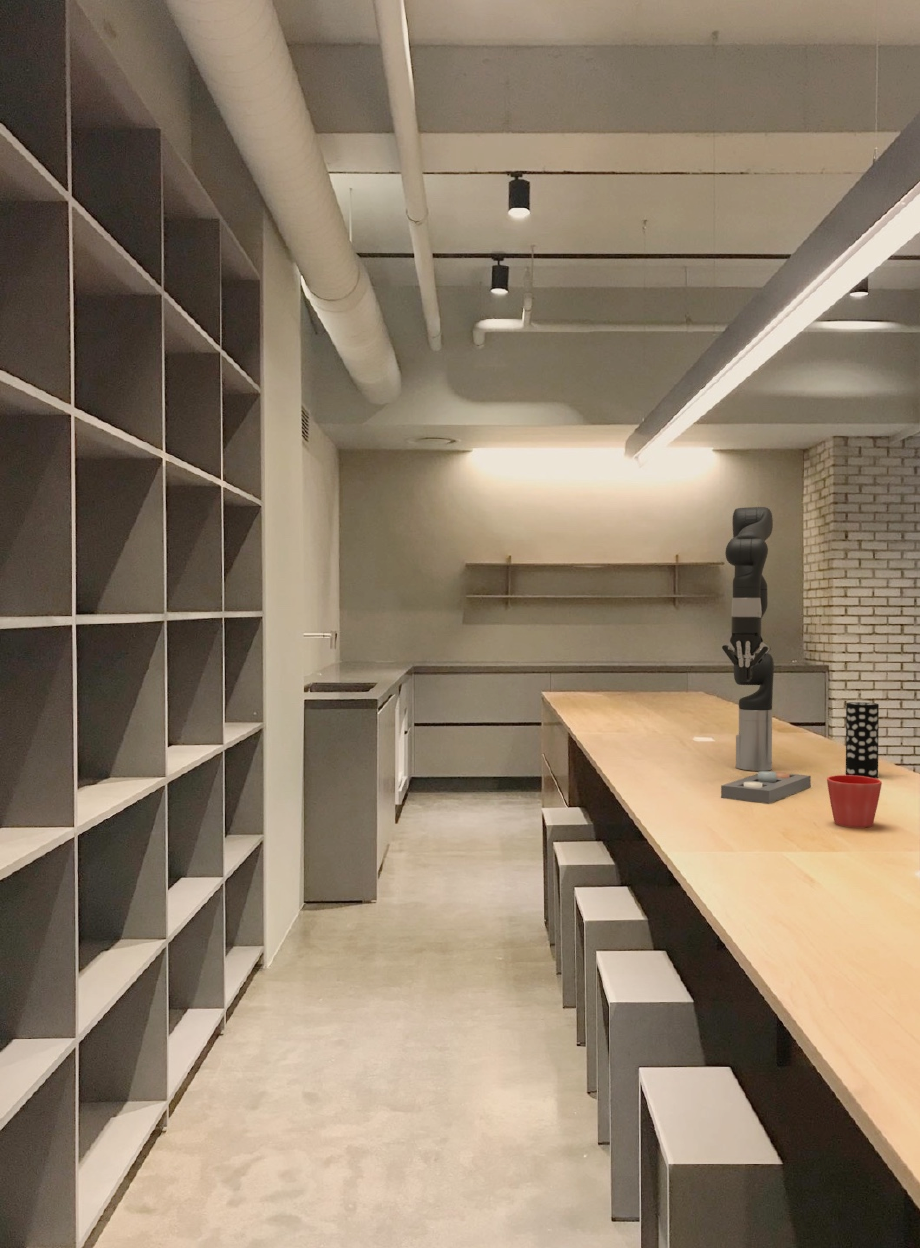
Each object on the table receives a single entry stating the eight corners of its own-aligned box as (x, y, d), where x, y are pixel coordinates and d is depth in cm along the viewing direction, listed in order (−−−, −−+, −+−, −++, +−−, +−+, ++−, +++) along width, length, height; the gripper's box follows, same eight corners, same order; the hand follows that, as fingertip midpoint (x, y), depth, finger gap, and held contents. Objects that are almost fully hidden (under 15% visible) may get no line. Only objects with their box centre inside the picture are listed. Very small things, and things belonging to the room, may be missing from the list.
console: (721, 797, 250) (721, 785, 250) (765, 782, 272) (765, 771, 272) (769, 803, 243) (769, 791, 243) (810, 787, 265) (810, 775, 265)
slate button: (755, 784, 257) (755, 772, 257) (762, 782, 261) (762, 770, 261) (772, 786, 254) (772, 774, 254) (778, 784, 258) (779, 772, 258)
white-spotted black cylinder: (845, 777, 280) (845, 704, 280) (846, 773, 288) (846, 701, 287) (878, 779, 277) (878, 705, 276) (878, 775, 284) (878, 702, 284)
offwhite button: (740, 795, 250) (740, 783, 250) (747, 793, 254) (747, 780, 254) (758, 797, 247) (758, 785, 247) (765, 795, 251) (765, 782, 251)
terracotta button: (768, 785, 264) (769, 774, 264) (775, 783, 268) (775, 771, 268) (785, 787, 262) (785, 775, 262) (792, 785, 265) (792, 773, 265)
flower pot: (882, 831, 213) (882, 784, 213) (826, 827, 217) (826, 781, 217) (880, 821, 223) (880, 776, 223) (826, 817, 227) (827, 773, 227)
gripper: (716, 615, 270) (716, 681, 270) (765, 615, 262) (764, 683, 262) (728, 615, 276) (728, 679, 276) (776, 615, 268) (776, 681, 268)
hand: (746, 681), depth 269 cm, fingers closed
